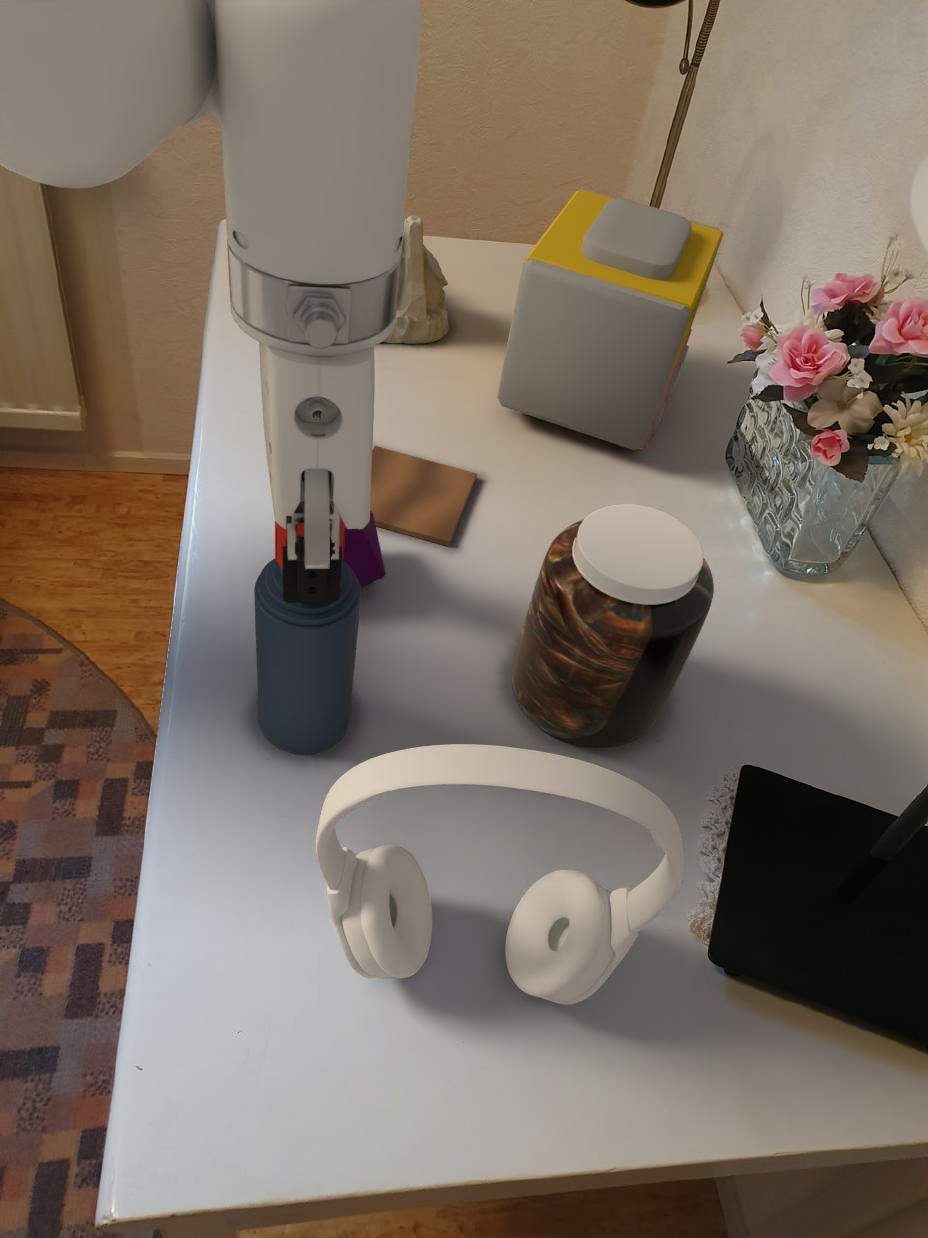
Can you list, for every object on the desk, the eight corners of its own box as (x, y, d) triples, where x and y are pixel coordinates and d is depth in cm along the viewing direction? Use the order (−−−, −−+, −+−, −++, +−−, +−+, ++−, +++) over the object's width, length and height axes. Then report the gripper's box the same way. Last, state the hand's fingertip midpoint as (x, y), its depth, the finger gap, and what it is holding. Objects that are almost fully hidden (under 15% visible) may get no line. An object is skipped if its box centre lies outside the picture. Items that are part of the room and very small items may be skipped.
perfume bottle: (288, 610, 72) (287, 419, 59) (280, 544, 77) (278, 353, 64) (383, 604, 74) (403, 418, 61) (370, 540, 79) (386, 354, 66)
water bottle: (243, 738, 64) (233, 542, 50) (278, 671, 68) (278, 473, 55) (331, 765, 63) (345, 574, 50) (361, 695, 68) (381, 502, 54)
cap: (344, 579, 53) (348, 537, 51) (275, 579, 52) (275, 536, 50) (340, 533, 56) (343, 491, 53) (274, 532, 55) (274, 489, 53)
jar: (629, 777, 66) (696, 639, 55) (485, 703, 69) (522, 558, 58) (681, 671, 74) (750, 531, 63) (550, 608, 76) (593, 463, 65)
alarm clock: (640, 473, 90) (702, 299, 77) (489, 422, 93) (523, 244, 79) (678, 376, 103) (737, 213, 90) (545, 333, 106) (583, 168, 92)
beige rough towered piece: (450, 349, 100) (463, 207, 90) (296, 339, 99) (292, 193, 88) (446, 286, 111) (457, 154, 101) (308, 276, 110) (305, 140, 99)
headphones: (324, 874, 58) (336, 674, 43) (612, 915, 59) (720, 732, 44) (302, 989, 53) (306, 807, 38) (616, 1031, 54) (738, 869, 39)
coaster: (338, 515, 80) (338, 510, 80) (374, 450, 87) (374, 445, 87) (449, 546, 80) (449, 541, 79) (476, 478, 86) (477, 473, 86)
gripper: (419, 392, 37) (386, 678, 50) (380, 204, 48) (361, 481, 61) (226, 387, 35) (244, 684, 49) (231, 194, 46) (245, 480, 60)
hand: (309, 568), depth 55 cm, fingers closed on cap, 3 cm apart
